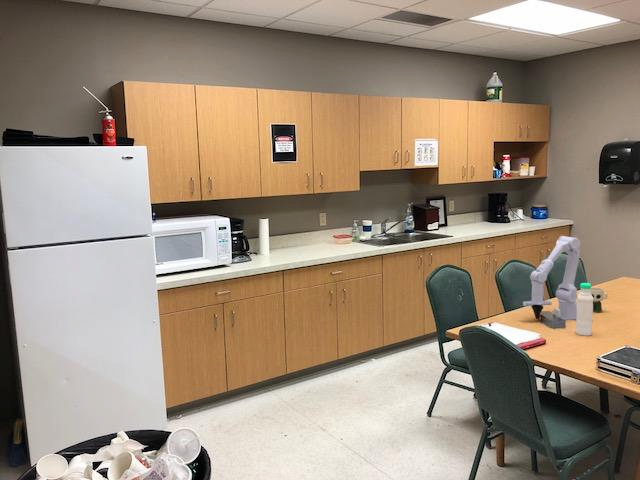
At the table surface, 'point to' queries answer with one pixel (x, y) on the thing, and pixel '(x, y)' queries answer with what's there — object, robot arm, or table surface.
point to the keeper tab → (557, 312)
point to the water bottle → (584, 310)
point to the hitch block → (552, 320)
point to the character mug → (597, 298)
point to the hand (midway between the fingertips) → (536, 318)
